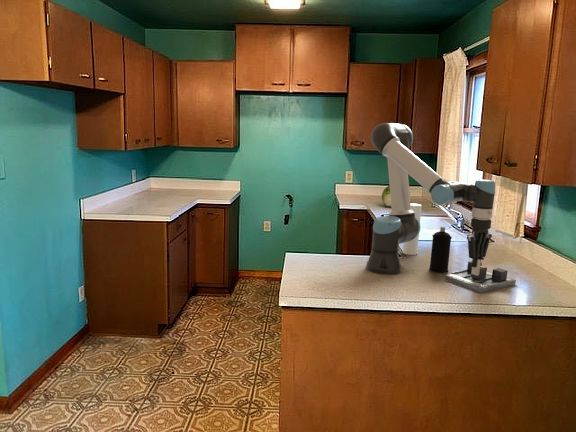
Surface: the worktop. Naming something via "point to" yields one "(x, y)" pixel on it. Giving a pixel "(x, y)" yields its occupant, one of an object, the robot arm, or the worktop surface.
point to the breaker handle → (481, 273)
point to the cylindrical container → (412, 245)
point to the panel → (481, 285)
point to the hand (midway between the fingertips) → (475, 274)
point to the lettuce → (386, 196)
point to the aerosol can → (440, 251)
